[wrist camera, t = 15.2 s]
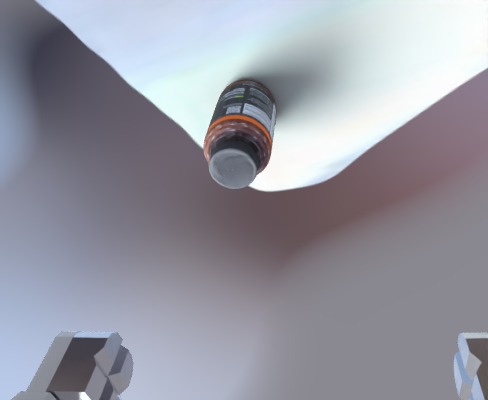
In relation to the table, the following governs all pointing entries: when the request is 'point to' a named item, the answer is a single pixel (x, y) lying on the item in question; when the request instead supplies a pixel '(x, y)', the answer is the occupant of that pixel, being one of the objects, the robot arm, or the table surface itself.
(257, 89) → the supplement bottle
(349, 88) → the table surface
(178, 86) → the table surface
